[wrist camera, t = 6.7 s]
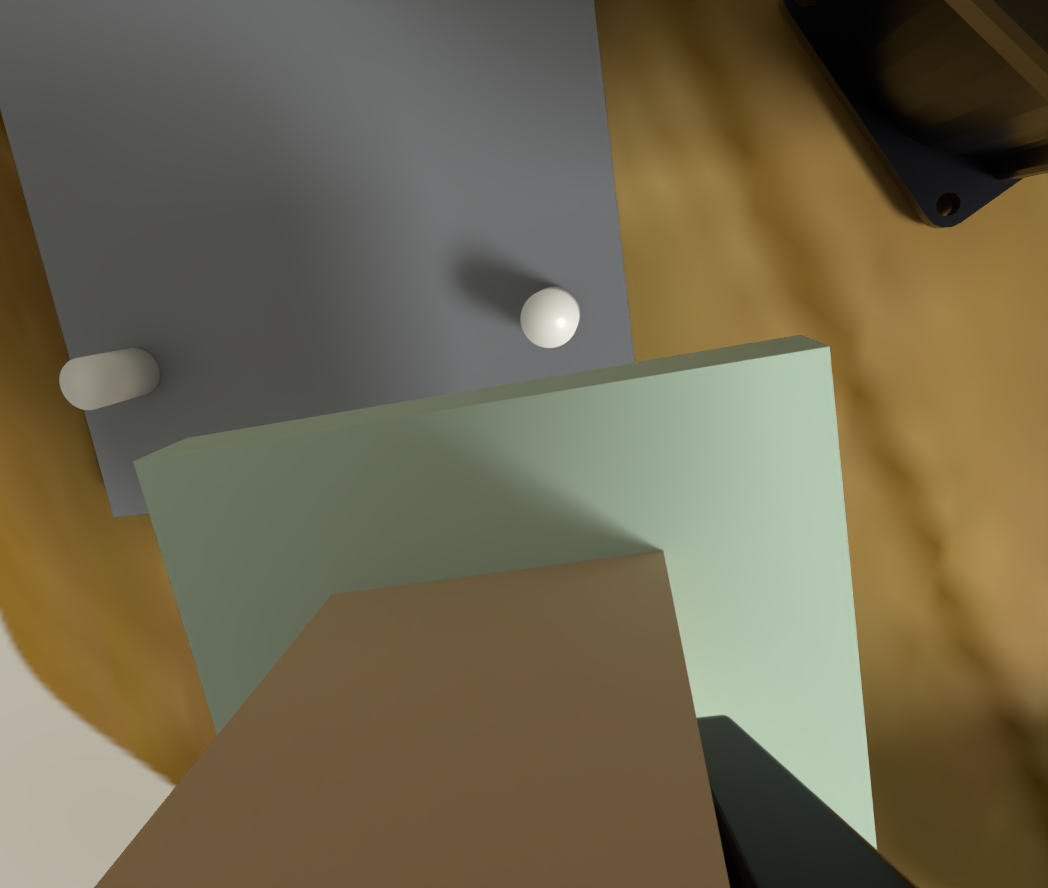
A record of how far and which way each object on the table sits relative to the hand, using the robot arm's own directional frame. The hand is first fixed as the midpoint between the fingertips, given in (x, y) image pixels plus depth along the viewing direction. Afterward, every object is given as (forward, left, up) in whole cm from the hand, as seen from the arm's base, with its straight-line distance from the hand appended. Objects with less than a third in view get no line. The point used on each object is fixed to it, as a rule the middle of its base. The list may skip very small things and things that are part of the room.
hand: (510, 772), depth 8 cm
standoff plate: (+11, -1, -12) cm, 16 cm away
